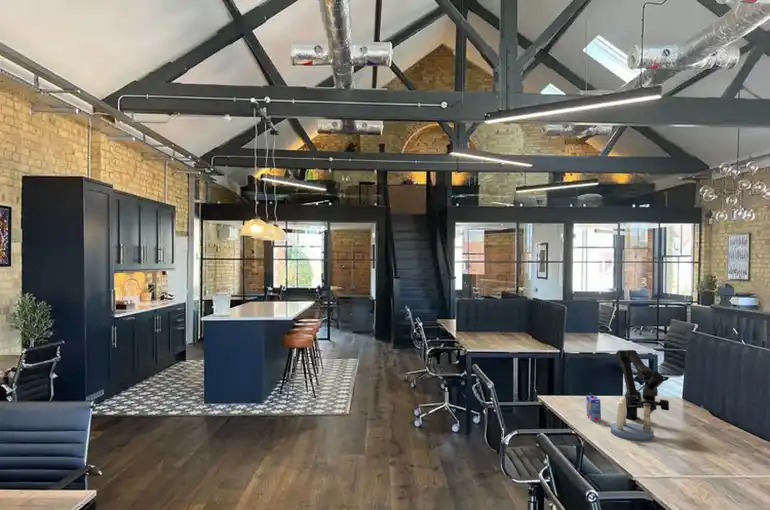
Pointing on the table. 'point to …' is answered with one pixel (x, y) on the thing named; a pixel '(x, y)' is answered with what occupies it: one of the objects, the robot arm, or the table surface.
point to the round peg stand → (629, 426)
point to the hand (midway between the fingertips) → (647, 416)
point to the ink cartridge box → (593, 408)
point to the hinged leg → (646, 416)
